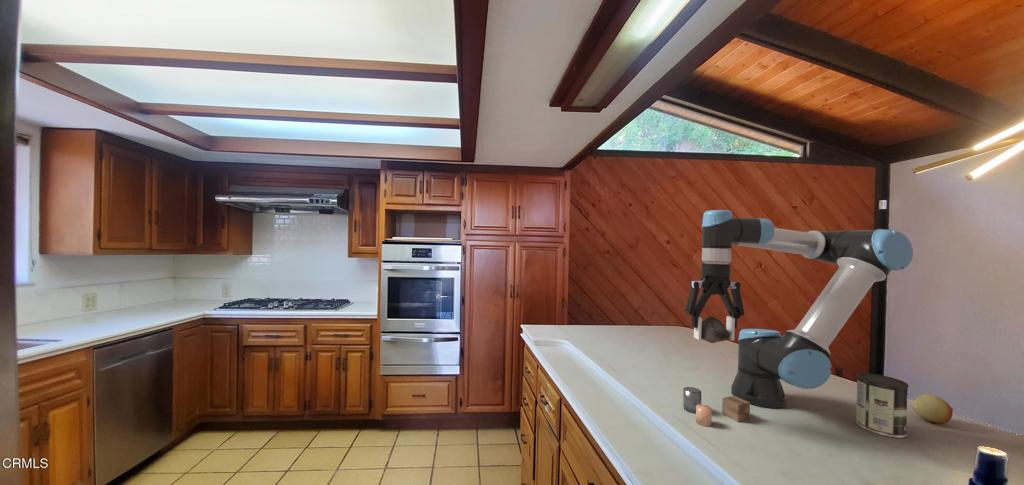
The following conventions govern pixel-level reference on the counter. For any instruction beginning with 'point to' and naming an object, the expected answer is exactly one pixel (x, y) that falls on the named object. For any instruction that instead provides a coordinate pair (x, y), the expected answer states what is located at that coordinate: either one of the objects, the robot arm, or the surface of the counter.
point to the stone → (713, 330)
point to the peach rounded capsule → (703, 415)
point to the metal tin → (691, 399)
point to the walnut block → (736, 408)
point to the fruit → (932, 409)
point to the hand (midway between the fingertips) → (713, 338)
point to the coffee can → (882, 405)
